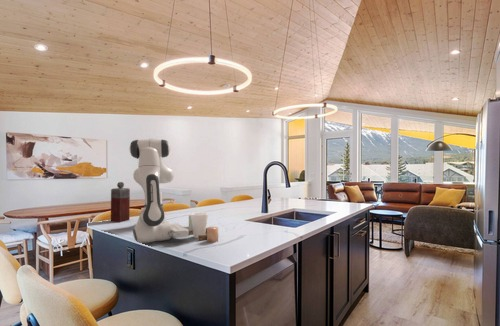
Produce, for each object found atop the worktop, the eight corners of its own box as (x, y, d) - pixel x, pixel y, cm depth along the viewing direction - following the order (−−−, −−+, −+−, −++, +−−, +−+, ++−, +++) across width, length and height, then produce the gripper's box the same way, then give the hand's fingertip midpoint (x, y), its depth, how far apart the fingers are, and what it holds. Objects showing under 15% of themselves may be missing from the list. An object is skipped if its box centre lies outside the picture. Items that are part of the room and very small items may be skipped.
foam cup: (202, 239, 151) (202, 215, 152) (187, 238, 155) (187, 214, 155) (210, 235, 160) (210, 213, 161) (196, 234, 164) (196, 212, 164)
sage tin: (188, 231, 170) (188, 215, 171) (197, 230, 174) (198, 214, 174) (191, 233, 165) (192, 216, 165) (201, 232, 168) (201, 215, 169)
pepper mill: (117, 218, 209) (118, 181, 209) (129, 219, 205) (130, 181, 205) (108, 221, 201) (108, 182, 201) (120, 222, 197) (120, 182, 197)
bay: (199, 240, 150) (199, 235, 150) (189, 234, 164) (189, 229, 164) (218, 237, 155) (218, 233, 155) (206, 231, 169) (207, 227, 169)
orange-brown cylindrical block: (206, 239, 151) (206, 227, 151) (217, 239, 153) (217, 226, 153) (207, 242, 145) (207, 229, 146) (219, 242, 147) (219, 228, 147)
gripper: (171, 229, 140) (197, 226, 147) (161, 222, 157) (185, 219, 164) (171, 241, 140) (197, 238, 147) (161, 233, 157) (185, 230, 164)
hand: (191, 228), depth 156 cm, fingers closed, pressing on foam cup
